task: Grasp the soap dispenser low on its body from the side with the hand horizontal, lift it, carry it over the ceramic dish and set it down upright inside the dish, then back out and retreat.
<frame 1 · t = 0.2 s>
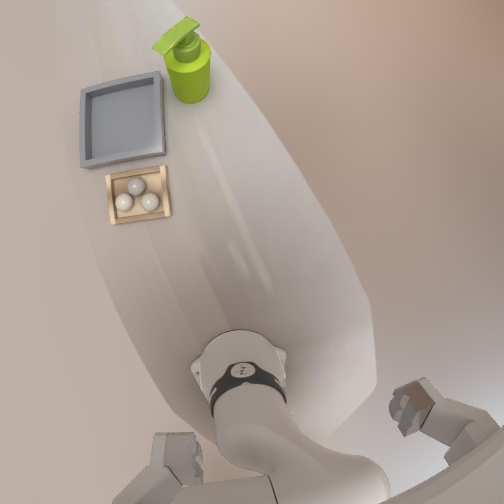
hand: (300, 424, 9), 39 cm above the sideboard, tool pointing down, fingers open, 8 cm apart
pebble b: (136, 186, 40), point 2 cm above the sideboard, touching parts tray
pebble a: (149, 202, 41), point 2 cm above the sideboard, touching parts tray
parts tray: (140, 195, 43), on the sideboard
dish: (123, 122, 39), on the sideboard
pebble c: (124, 202, 40), point 2 cm above the sideboard, touching parts tray
soap dispenser: (189, 90, 40), on the sideboard
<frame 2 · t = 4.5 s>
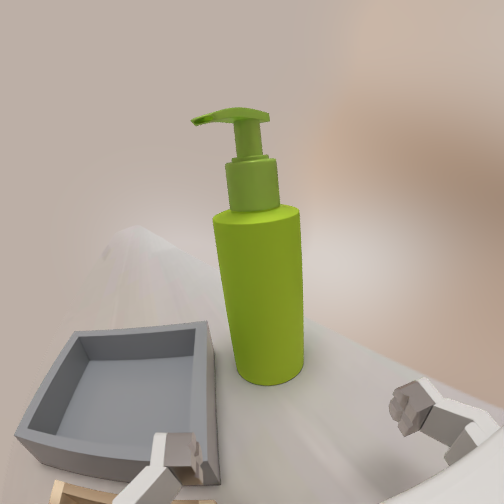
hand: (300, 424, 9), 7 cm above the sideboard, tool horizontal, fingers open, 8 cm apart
dish: (131, 409, 18), on the sideboard
soap dispenser: (266, 367, 23), on the sideboard
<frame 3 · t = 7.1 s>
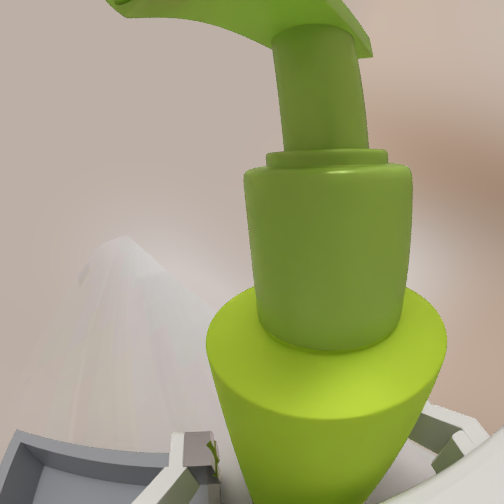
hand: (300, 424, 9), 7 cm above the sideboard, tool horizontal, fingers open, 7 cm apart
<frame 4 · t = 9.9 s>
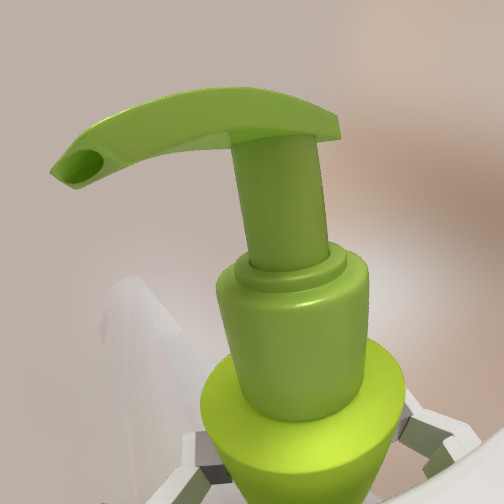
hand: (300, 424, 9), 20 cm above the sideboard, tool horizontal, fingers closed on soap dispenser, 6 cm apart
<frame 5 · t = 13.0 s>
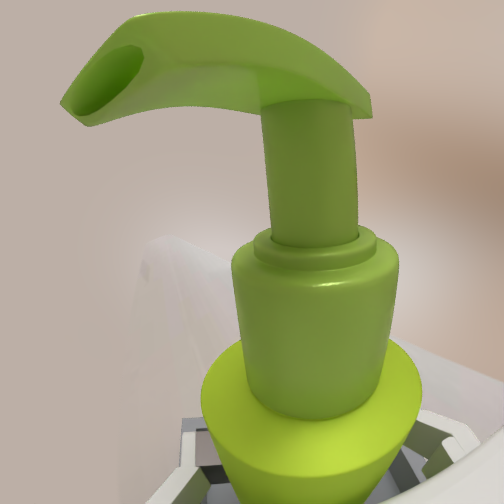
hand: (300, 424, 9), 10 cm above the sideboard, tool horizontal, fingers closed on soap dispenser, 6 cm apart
when the fingers open (10 cm above the sideboard, at t = 13.2 s): soap dispenser stays where it is, resting on dish.
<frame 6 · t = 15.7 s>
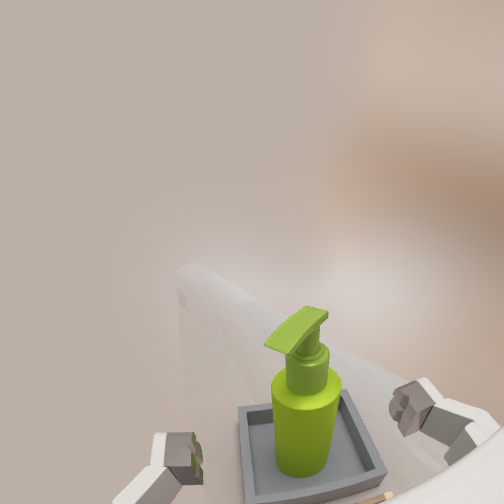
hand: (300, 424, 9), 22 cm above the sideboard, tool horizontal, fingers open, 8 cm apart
dish: (304, 456, 25), on the sideboard
soap dispenser: (299, 461, 25), resting on dish
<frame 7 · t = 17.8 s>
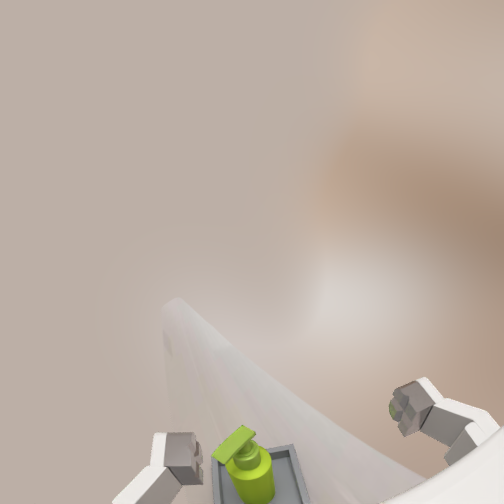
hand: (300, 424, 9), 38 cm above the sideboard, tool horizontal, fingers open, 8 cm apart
dish: (259, 490, 33), on the sideboard
soap dispenser: (255, 494, 32), resting on dish
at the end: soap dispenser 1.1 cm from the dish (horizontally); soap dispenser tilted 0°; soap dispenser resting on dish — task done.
